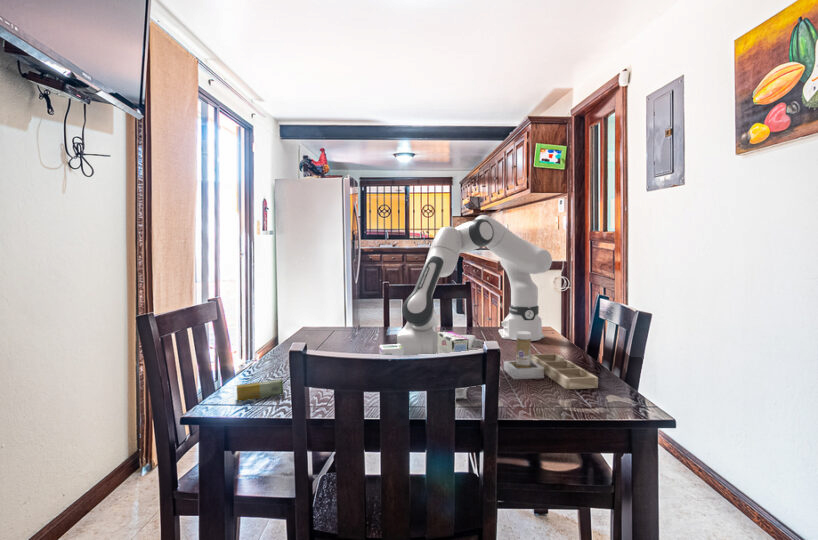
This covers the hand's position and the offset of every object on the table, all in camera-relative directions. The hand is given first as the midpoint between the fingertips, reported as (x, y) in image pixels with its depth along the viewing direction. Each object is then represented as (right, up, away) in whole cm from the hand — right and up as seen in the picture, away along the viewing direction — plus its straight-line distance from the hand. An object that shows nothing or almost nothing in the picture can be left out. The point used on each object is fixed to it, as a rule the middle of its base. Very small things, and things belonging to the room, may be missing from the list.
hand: (487, 347), depth 141 cm
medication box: (-66, -10, -21) cm, 70 cm away
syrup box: (-30, -10, -23) cm, 39 cm away
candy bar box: (-13, -9, -19) cm, 25 cm away
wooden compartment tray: (+23, -8, -3) cm, 24 cm away
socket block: (+11, -8, -2) cm, 14 cm away
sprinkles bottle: (+11, -8, -2) cm, 14 cm away
